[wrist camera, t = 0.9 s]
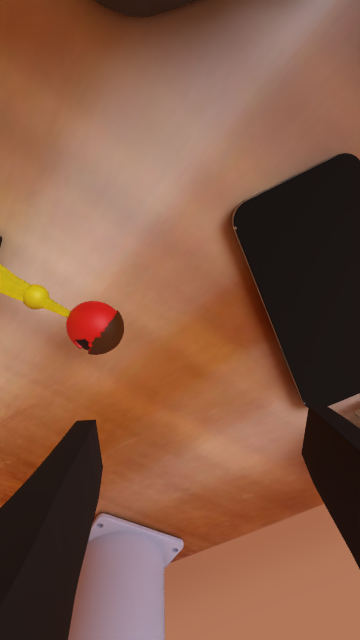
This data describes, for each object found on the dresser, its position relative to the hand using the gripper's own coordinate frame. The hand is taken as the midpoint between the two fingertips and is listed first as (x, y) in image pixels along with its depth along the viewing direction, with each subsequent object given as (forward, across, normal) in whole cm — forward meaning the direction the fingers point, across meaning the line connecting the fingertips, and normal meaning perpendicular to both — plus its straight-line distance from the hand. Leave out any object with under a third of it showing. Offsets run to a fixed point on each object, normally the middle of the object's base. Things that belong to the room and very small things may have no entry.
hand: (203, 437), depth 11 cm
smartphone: (+10, -9, -1) cm, 13 cm away
